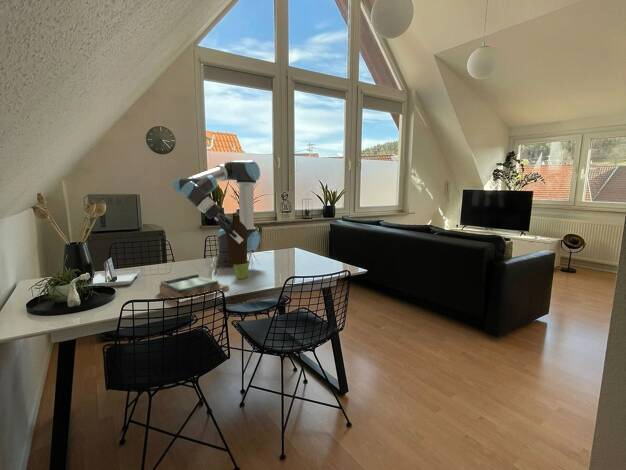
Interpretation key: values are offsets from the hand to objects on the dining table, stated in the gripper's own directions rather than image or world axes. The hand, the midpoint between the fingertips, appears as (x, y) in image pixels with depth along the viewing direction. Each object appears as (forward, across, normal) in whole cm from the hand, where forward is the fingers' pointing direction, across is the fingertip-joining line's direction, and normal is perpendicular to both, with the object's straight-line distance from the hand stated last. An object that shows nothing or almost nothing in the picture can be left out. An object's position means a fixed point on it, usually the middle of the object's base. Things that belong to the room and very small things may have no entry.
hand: (243, 239), depth 170 cm
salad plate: (-31, -13, -66) cm, 75 cm away
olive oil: (+6, 0, -10) cm, 12 cm away
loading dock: (+1, +7, -33) cm, 34 cm away
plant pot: (+15, -16, -19) cm, 29 cm away
